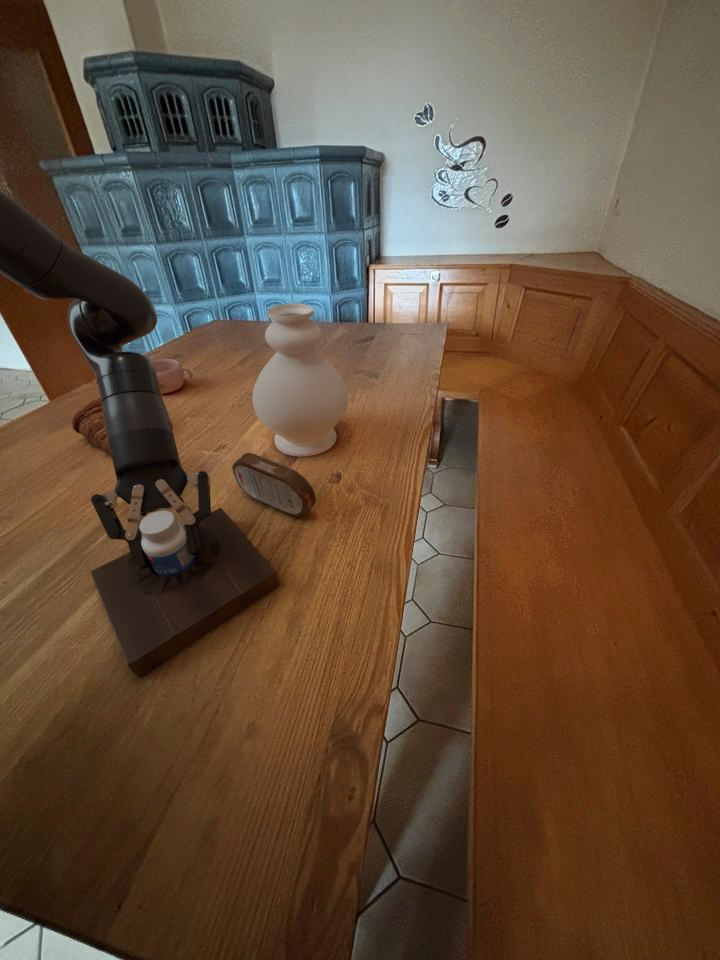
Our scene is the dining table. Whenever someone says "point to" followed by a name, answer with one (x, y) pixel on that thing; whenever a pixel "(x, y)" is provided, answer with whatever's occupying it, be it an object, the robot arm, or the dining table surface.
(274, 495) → the tin
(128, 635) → the base pad
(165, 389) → the mug
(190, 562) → the pill bottle
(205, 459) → the dining table surface
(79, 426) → the pastry
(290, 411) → the decorative vase
